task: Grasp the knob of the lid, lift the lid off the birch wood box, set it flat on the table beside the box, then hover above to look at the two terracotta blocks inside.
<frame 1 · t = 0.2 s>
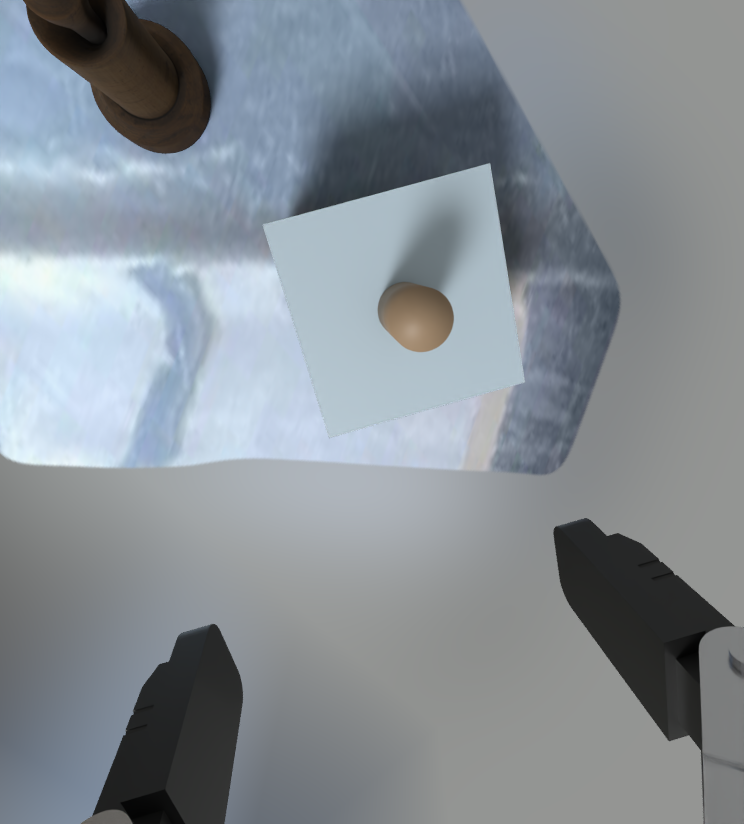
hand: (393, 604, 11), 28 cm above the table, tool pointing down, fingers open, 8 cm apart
lid: (401, 308, 30), point 7 cm above the table, touching box
mortar and pestle: (159, 97, 31), on the table
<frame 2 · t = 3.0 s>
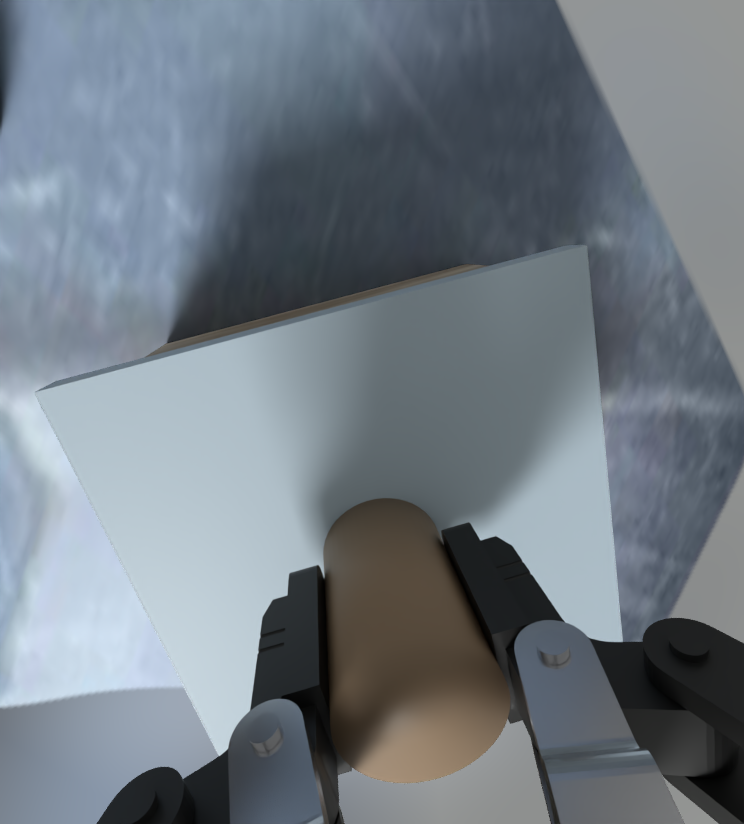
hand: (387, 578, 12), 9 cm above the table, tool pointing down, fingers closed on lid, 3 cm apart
lid: (377, 530, 14), point 7 cm above the table, touching box, gripper
box: (356, 441, 21), on the table
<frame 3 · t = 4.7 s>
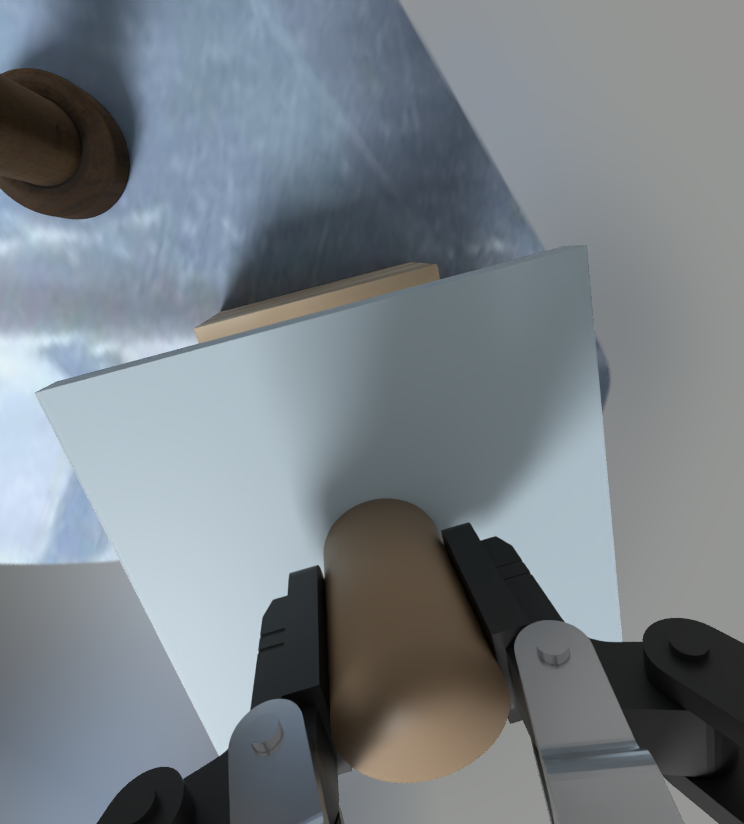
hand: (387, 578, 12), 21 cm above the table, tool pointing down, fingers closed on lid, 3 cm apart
lid: (377, 530, 14), point 19 cm above the table, touching gripper
mortar and pestle: (68, 154, 26), on the table
box: (340, 378, 32), on the table
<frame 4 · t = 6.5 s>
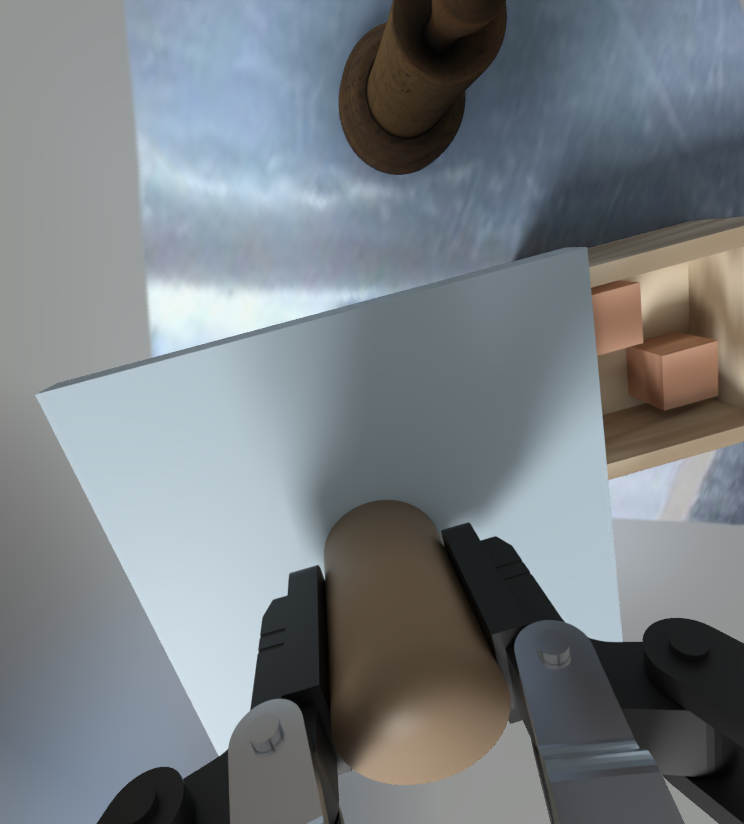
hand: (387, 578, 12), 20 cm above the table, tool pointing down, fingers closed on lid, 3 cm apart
lid: (378, 532, 14), point 18 cm above the table, touching gripper
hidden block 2: (652, 363, 32), point 1 cm above the table, touching box
mortar and pestle: (396, 110, 27), on the table
box: (608, 336, 32), on the table
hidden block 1: (579, 313, 31), point 1 cm above the table, touching box
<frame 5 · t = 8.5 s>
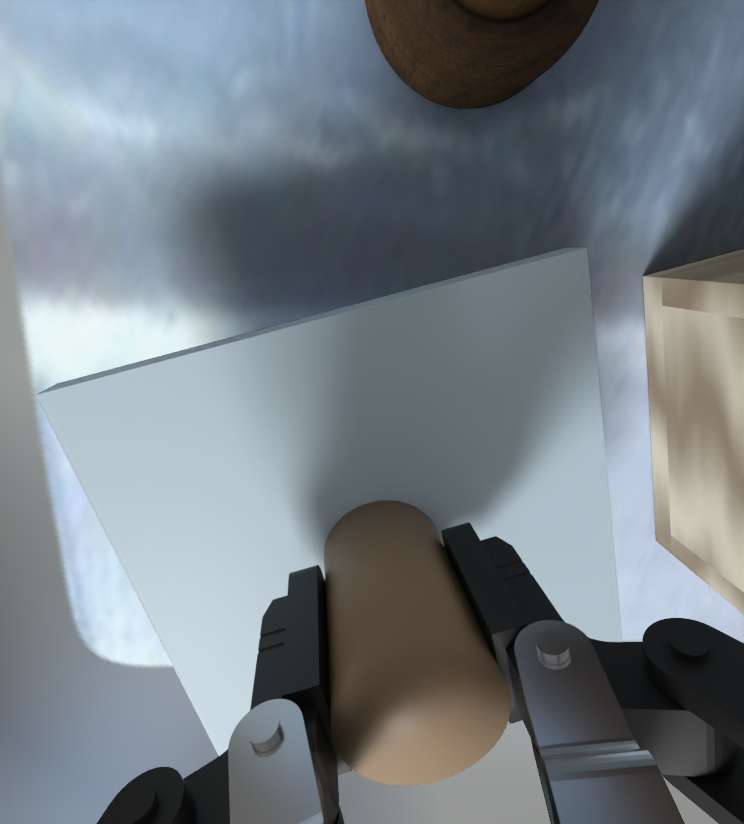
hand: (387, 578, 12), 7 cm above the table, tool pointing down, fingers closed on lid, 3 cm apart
lid: (378, 532, 14), point 5 cm above the table, touching gripper
when the fingers open (4 cm above the table, at t = 10.0 s): lid drops 3 cm, on the table.
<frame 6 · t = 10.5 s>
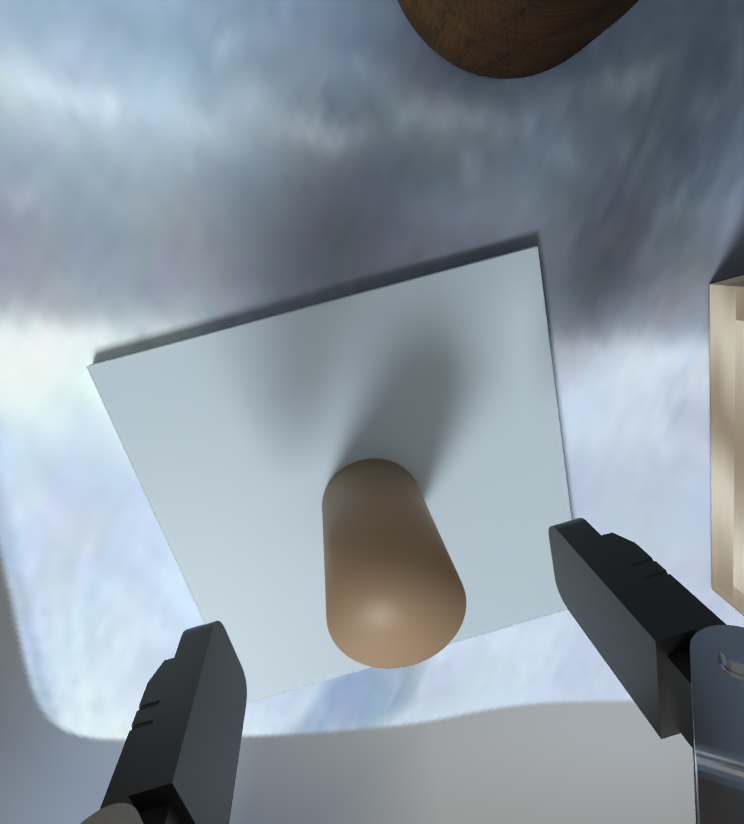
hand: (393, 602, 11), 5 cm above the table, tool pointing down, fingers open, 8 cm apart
lid: (368, 489, 17), on the table
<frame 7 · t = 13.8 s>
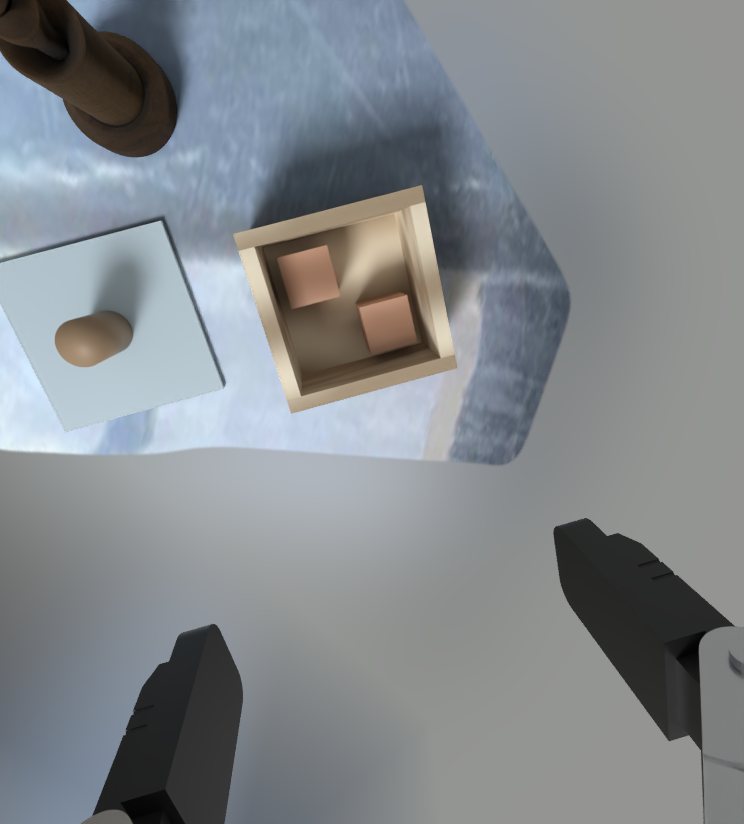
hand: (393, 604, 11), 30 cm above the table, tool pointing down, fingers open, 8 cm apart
lid: (115, 330, 38), on the table
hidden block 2: (382, 318, 38), point 1 cm above the table, touching box
mortar and pestle: (128, 104, 33), on the table
box: (345, 296, 38), on the table
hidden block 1: (309, 275, 37), point 1 cm above the table, touching box
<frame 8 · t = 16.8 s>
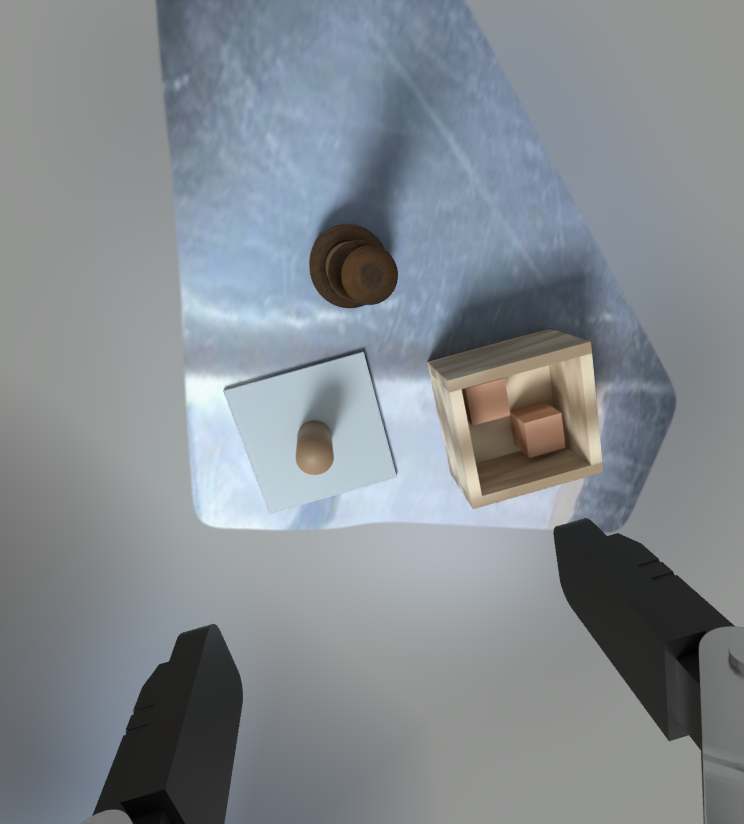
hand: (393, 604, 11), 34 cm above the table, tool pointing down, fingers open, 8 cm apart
lid: (314, 432, 46), on the table
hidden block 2: (528, 422, 47), point 1 cm above the table, touching box
mortar and pestle: (347, 266, 42), on the table
box: (498, 404, 47), on the table
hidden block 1: (475, 391, 45), point 1 cm above the table, touching box
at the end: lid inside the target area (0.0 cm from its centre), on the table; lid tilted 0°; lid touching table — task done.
